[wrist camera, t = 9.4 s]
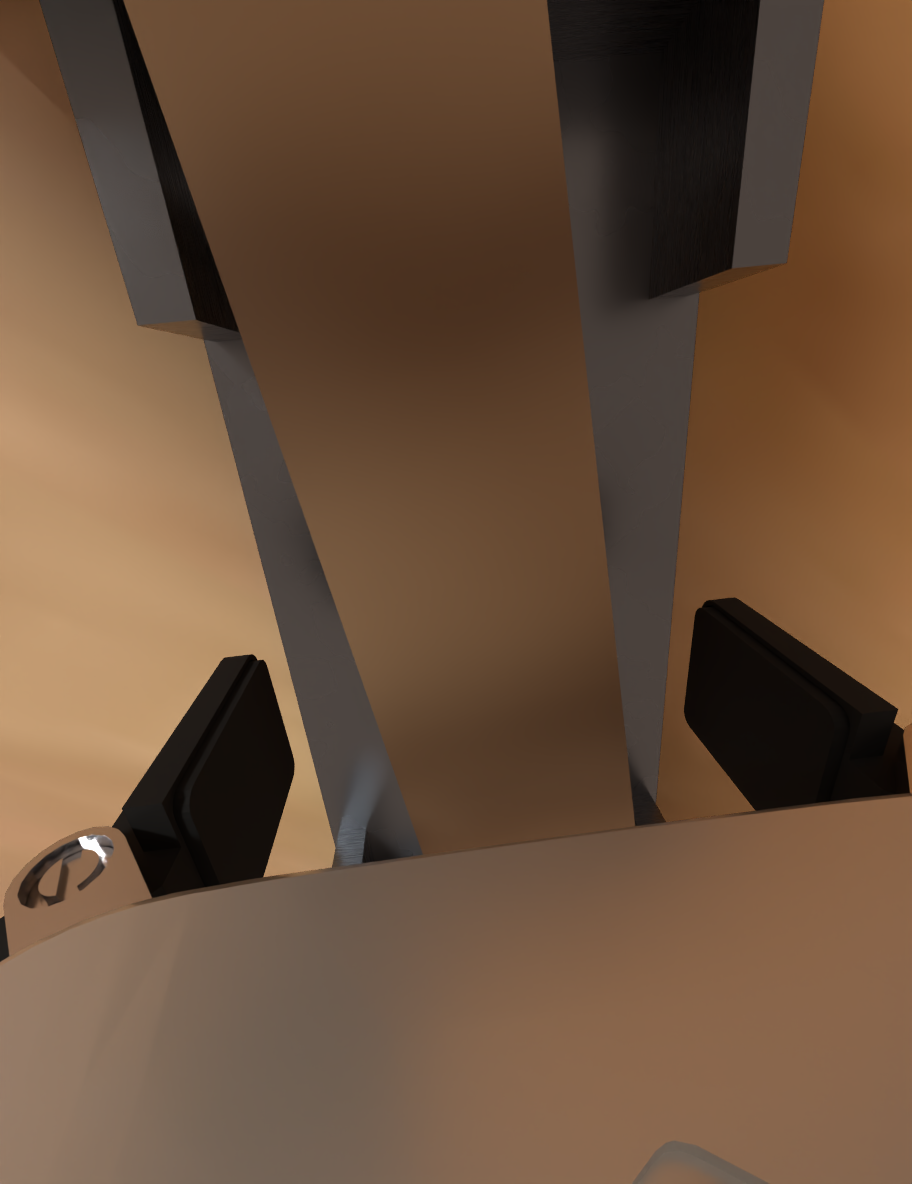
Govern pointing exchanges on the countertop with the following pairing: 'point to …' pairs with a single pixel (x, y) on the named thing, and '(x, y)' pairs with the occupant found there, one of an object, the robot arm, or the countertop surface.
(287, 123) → the rail
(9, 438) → the countertop surface
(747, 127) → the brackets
